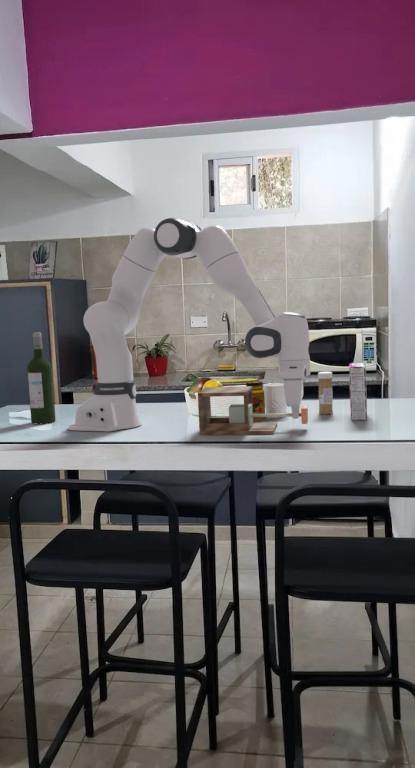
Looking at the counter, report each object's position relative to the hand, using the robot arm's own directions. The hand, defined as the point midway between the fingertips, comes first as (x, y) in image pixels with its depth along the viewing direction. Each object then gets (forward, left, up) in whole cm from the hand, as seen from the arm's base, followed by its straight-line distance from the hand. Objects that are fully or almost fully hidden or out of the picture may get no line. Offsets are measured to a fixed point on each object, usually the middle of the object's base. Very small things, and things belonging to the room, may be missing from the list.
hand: (295, 417), depth 200 cm
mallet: (-8, 0, -2) cm, 8 cm away
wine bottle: (-85, +18, -4) cm, 87 cm away
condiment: (-14, +19, -4) cm, 24 cm away
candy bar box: (+18, +19, -4) cm, 26 cm away
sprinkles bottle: (+8, +27, -4) cm, 28 cm away
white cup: (-8, +26, -4) cm, 27 cm away
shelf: (-16, 0, -4) cm, 17 cm away
